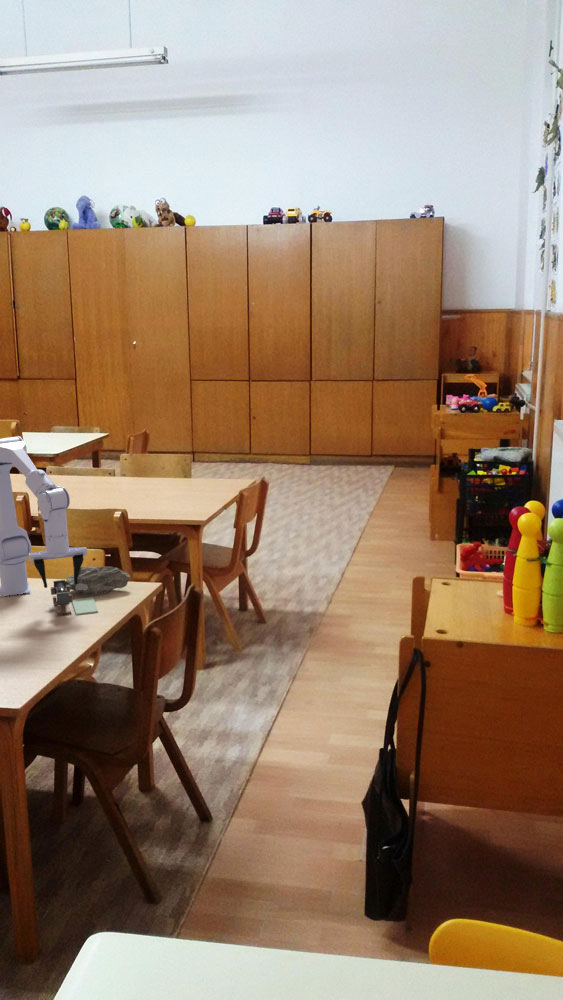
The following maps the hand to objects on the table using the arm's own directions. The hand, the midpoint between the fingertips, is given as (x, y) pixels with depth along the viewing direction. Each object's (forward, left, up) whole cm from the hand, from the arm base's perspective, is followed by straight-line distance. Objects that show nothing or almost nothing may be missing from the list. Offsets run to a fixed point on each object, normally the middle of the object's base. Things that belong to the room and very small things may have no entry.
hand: (60, 584), depth 211 cm
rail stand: (0, 0, -7) cm, 7 cm away
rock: (-13, +10, -7) cm, 18 cm away
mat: (0, +6, -7) cm, 9 cm away
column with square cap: (0, 0, -4) cm, 4 cm away
